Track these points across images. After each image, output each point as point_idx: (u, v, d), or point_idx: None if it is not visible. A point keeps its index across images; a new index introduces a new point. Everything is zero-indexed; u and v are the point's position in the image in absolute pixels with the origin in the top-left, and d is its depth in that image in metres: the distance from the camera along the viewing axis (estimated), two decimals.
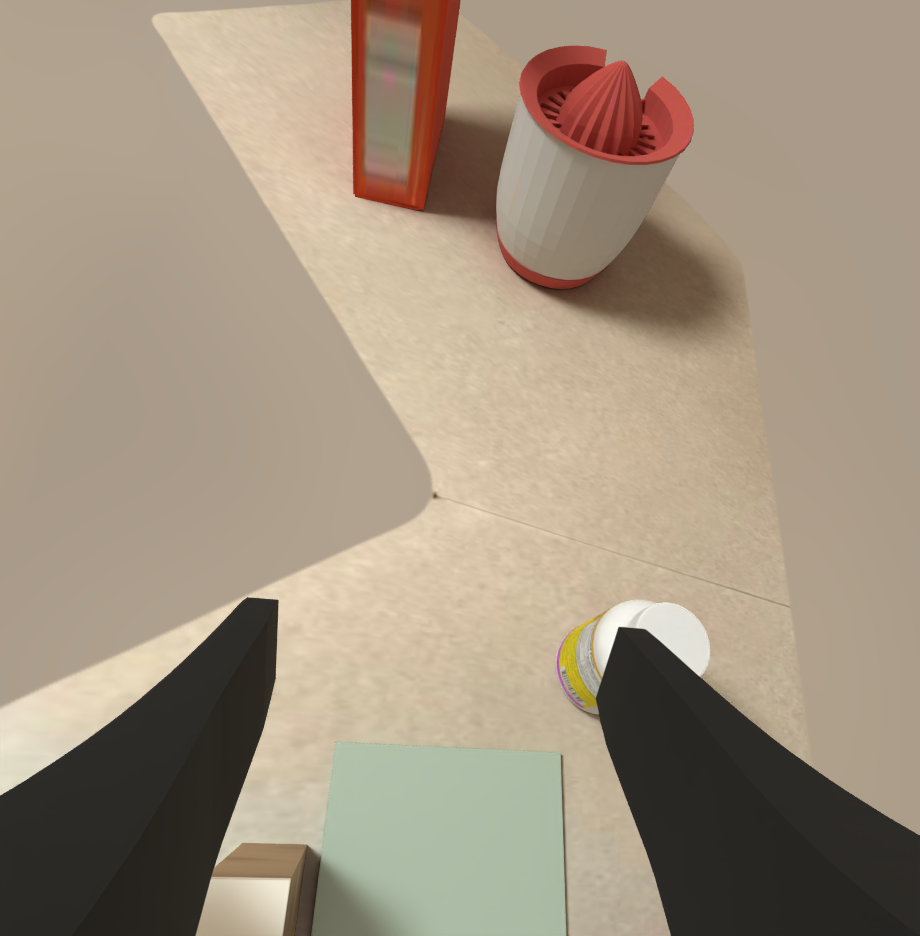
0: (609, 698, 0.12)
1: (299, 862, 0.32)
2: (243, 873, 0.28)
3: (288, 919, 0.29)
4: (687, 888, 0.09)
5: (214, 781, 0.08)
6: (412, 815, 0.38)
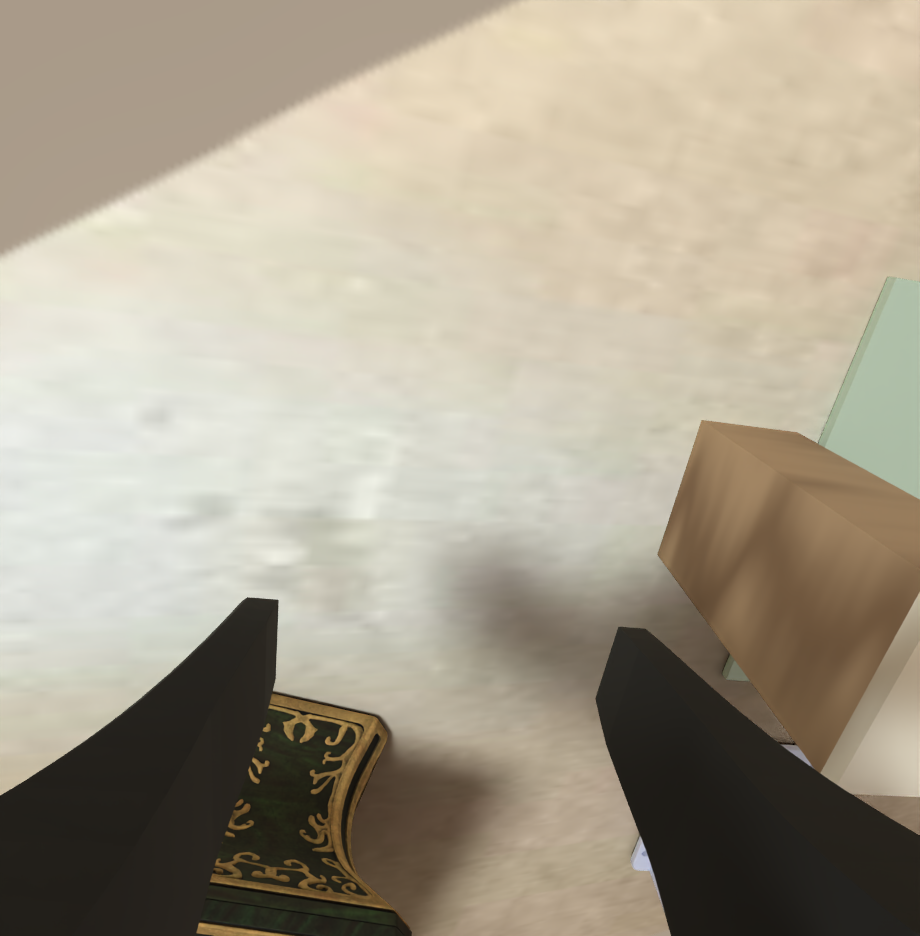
0: (609, 698, 0.12)
1: None
2: None
3: None
4: (687, 888, 0.09)
5: (214, 781, 0.08)
6: None
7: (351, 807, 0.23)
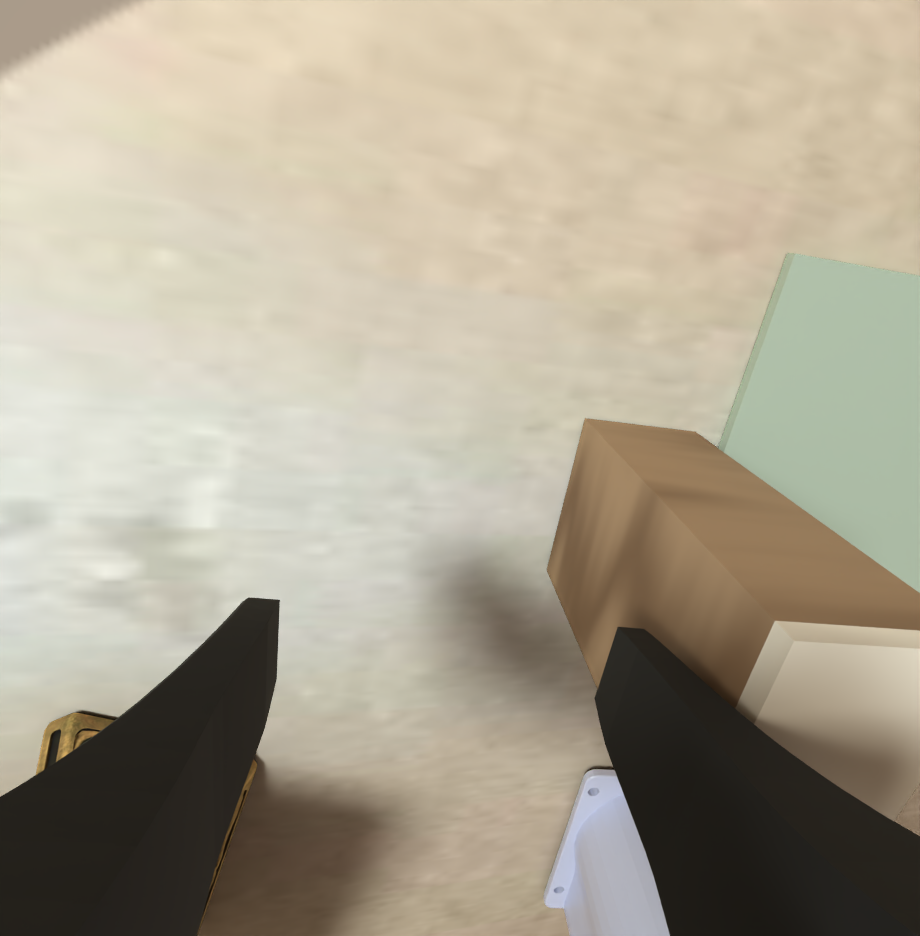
0: (608, 698, 0.12)
1: None
2: (822, 593, 0.11)
3: None
4: (686, 888, 0.09)
5: (215, 781, 0.08)
6: (898, 409, 0.19)
7: None
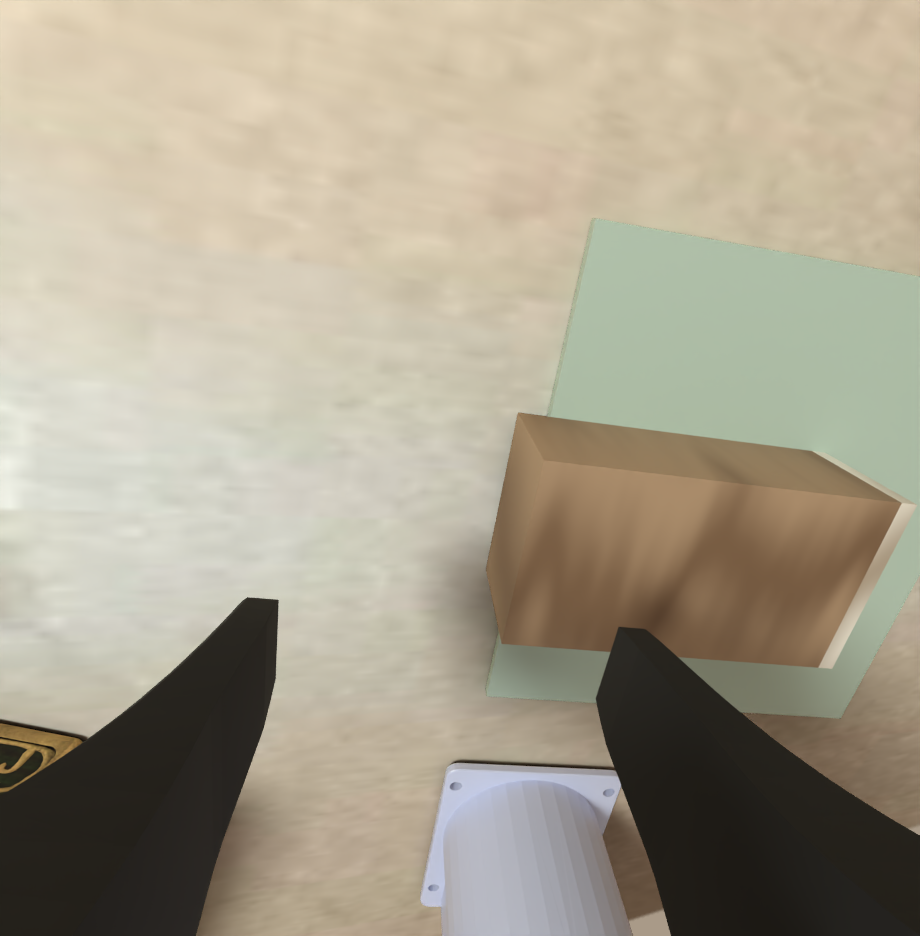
0: (609, 697, 0.12)
1: None
2: (833, 475, 0.18)
3: None
4: (688, 888, 0.09)
5: (214, 781, 0.08)
6: (728, 385, 0.19)
7: None
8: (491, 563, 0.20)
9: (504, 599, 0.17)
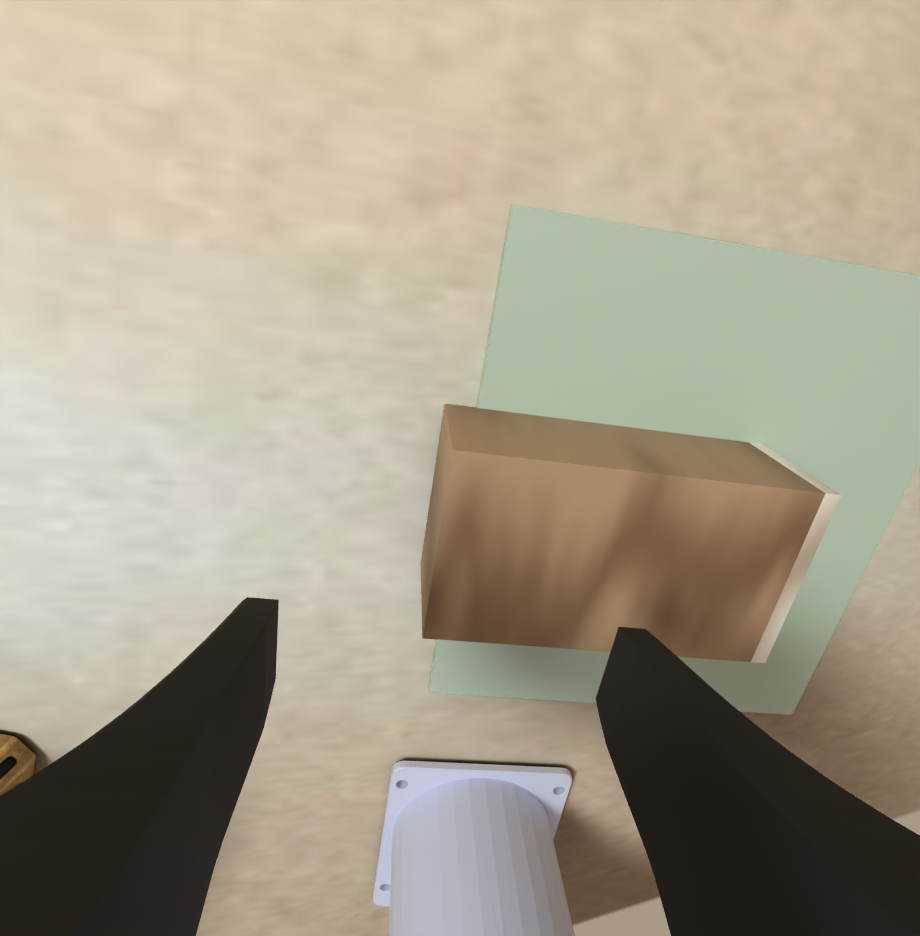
0: (609, 697, 0.12)
1: None
2: (761, 466, 0.17)
3: None
4: (687, 888, 0.09)
5: (214, 781, 0.08)
6: (659, 375, 0.18)
7: None
8: (423, 557, 0.20)
9: (426, 593, 0.17)
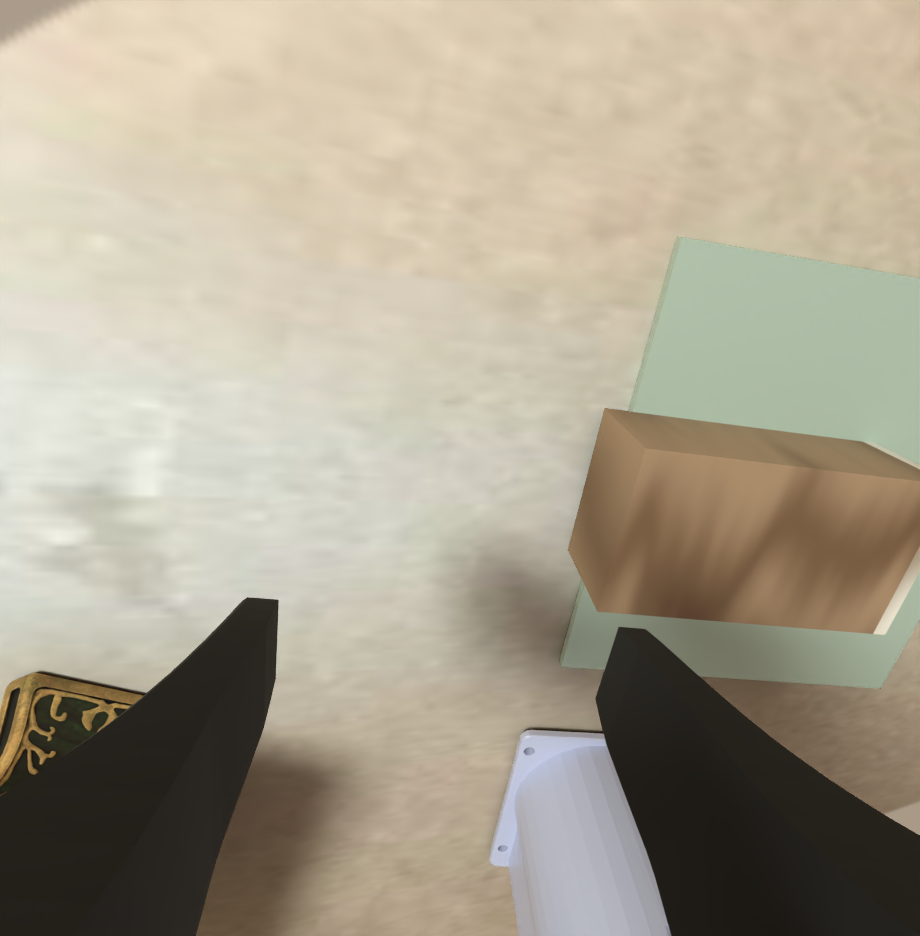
0: (609, 698, 0.12)
1: None
2: (887, 462, 0.20)
3: None
4: (687, 888, 0.09)
5: (214, 781, 0.08)
6: (791, 383, 0.21)
7: None
8: (576, 543, 0.22)
9: (598, 572, 0.20)
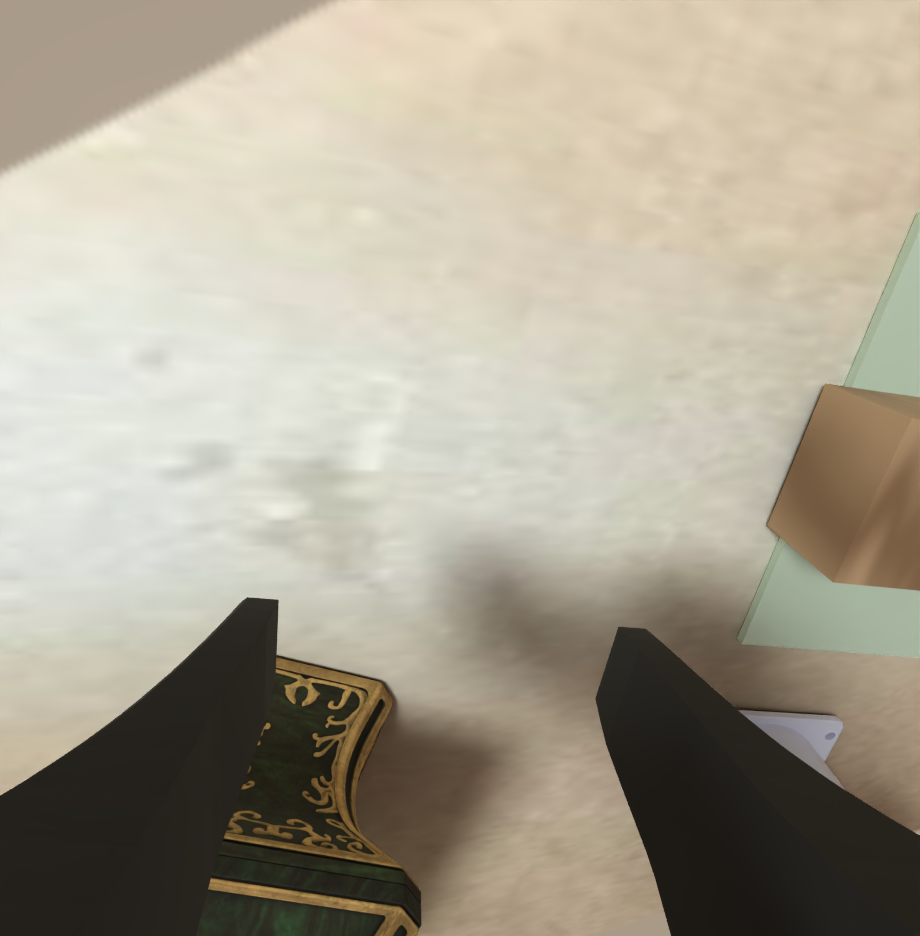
0: (609, 697, 0.12)
1: None
2: None
3: None
4: (687, 888, 0.09)
5: (214, 781, 0.08)
6: None
7: (355, 771, 0.23)
8: (783, 518, 0.22)
9: (830, 544, 0.20)
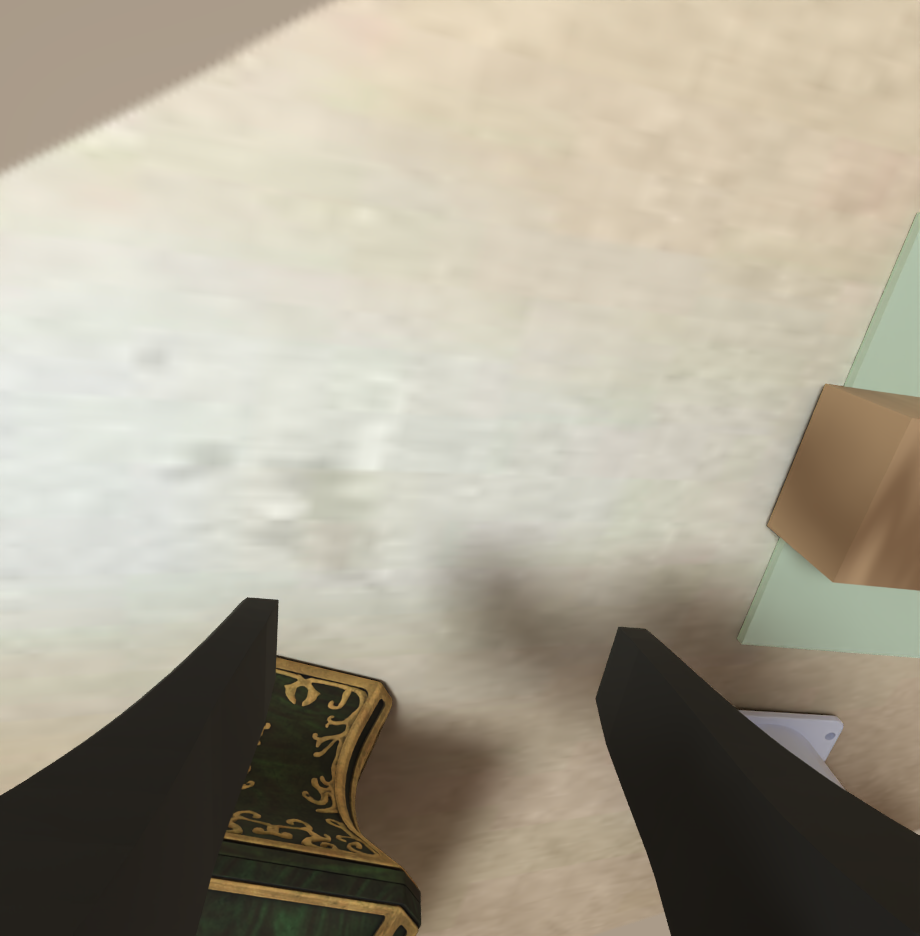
0: (609, 697, 0.12)
1: None
2: None
3: None
4: (687, 888, 0.09)
5: (214, 781, 0.08)
6: None
7: (355, 771, 0.23)
8: (783, 518, 0.22)
9: (830, 544, 0.20)
